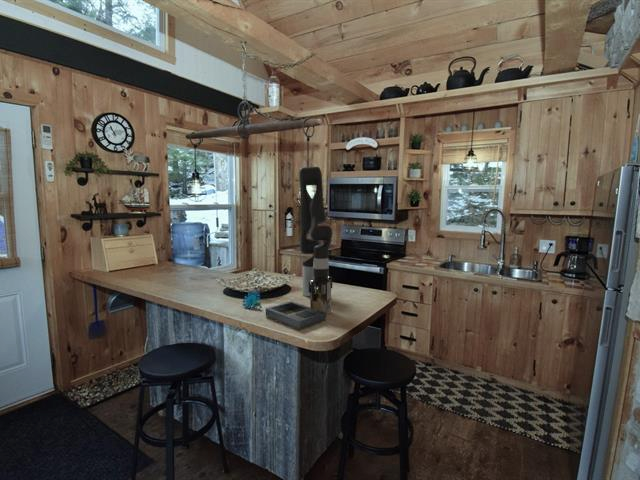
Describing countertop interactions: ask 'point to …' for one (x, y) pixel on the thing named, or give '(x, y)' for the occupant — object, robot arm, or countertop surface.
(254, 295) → the gear
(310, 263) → the robot arm
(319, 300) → the coffee box
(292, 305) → the gray rectangular frame
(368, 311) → the countertop surface
